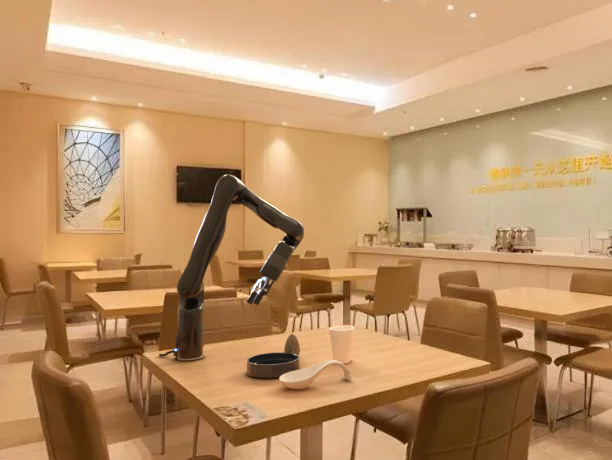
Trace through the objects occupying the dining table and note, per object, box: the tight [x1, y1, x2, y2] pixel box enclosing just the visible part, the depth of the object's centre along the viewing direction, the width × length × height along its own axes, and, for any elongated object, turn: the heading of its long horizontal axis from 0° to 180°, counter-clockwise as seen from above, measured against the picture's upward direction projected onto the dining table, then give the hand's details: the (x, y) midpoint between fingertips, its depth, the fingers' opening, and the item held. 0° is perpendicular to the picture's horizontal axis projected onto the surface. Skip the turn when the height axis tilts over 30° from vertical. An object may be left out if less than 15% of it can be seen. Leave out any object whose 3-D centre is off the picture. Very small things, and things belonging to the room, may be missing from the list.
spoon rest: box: [278, 359, 352, 390], centre depth 175 cm, size 24×12×7 cm, turn 120°
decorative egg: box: [283, 334, 301, 356], centre depth 208 cm, size 6×6×10 cm
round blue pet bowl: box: [246, 351, 301, 379], centre depth 190 cm, size 18×18×5 cm
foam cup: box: [328, 325, 355, 365], centre depth 205 cm, size 10×9×13 cm
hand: (251, 303), depth 200 cm, fingers open, 8 cm apart
